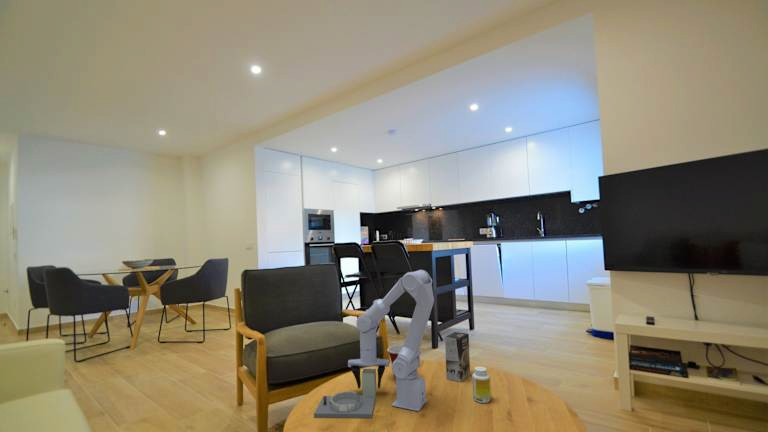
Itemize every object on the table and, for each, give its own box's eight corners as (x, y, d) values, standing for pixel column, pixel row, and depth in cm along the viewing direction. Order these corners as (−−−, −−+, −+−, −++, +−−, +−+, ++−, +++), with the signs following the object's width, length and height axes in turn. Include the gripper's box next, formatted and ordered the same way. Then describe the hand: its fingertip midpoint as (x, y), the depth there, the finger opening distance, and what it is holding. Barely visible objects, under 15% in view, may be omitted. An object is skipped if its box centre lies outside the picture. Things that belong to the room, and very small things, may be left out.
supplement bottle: (494, 401, 115) (492, 370, 115) (479, 405, 113) (478, 372, 113) (483, 394, 120) (482, 364, 120) (470, 397, 118) (468, 367, 119)
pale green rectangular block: (376, 391, 125) (375, 368, 126) (374, 397, 120) (374, 373, 121) (364, 391, 126) (363, 368, 126) (362, 397, 121) (361, 373, 121)
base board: (375, 399, 118) (375, 396, 118) (371, 418, 106) (371, 414, 106) (323, 399, 120) (323, 395, 120) (313, 417, 108) (313, 413, 108)
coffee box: (461, 382, 130) (459, 338, 131) (445, 378, 134) (444, 336, 135) (471, 374, 138) (469, 333, 139) (456, 371, 141) (454, 331, 142)
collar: (363, 397, 118) (363, 389, 118) (359, 412, 108) (359, 404, 108) (327, 397, 119) (327, 389, 119) (319, 412, 109) (319, 403, 109)
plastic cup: (390, 372, 142) (389, 342, 143) (416, 373, 140) (415, 343, 141) (385, 383, 132) (384, 351, 132) (413, 385, 129) (412, 352, 130)
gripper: (389, 344, 127) (390, 382, 126) (350, 344, 128) (351, 382, 128) (387, 350, 120) (389, 391, 119) (346, 350, 121) (347, 390, 121)
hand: (369, 387), depth 123 cm, fingers open, 6 cm apart
